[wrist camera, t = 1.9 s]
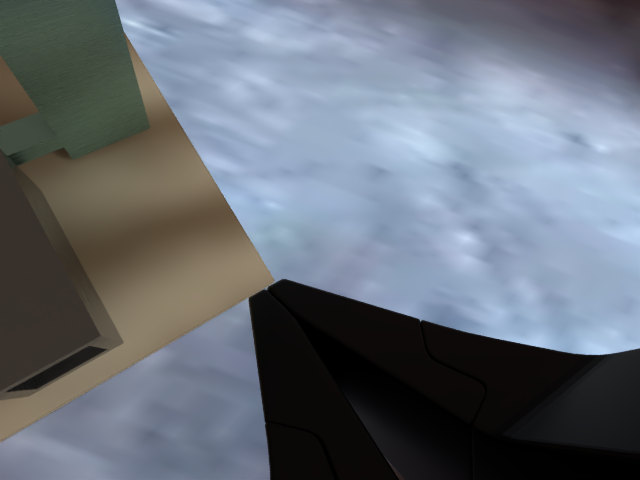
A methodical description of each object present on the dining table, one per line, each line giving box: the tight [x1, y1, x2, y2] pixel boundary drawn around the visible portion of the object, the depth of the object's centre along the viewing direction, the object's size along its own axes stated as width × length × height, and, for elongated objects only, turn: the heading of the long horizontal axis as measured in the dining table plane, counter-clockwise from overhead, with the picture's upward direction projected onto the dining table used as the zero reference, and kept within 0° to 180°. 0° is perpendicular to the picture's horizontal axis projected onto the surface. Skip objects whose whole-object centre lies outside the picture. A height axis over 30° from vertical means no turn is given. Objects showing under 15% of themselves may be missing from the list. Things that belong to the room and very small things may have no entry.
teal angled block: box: [0, 0, 150, 166], centre depth 16 cm, size 13×9×11 cm
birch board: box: [0, 33, 275, 442], centre depth 22 cm, size 22×14×1 cm, turn 32°
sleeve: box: [0, 149, 124, 400], centre depth 18 cm, size 8×4×4 cm, turn 32°
